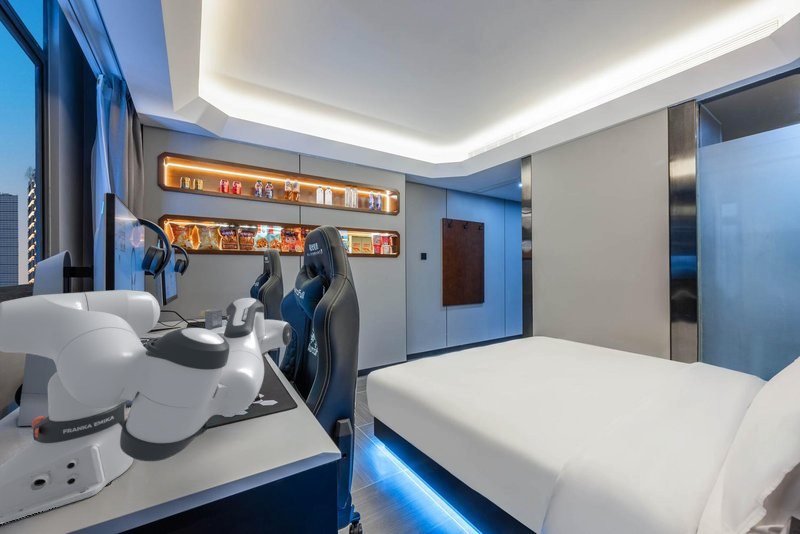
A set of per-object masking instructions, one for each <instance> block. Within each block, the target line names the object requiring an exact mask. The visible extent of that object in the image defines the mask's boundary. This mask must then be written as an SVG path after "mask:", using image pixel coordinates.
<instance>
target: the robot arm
mask: <svg viewBox="0 0 800 534" xmlns="http://www.w3.org/2000/svg"><path fill="white" fill-rule="evenodd" d="M225 312H226V317H227V322H226V325H224V326H223V325H222V327H219V328H215V329H211V330H207V329H205V328H202V327H189V326H188V327H182V328H178V329H175V330H172V331H169V332H167V333H166V334H164V335H162V336H159V337H154V338H152V339H150V340H149V341H148V342H147V343H145V346H144V344H143V343H142V341H141V338H143V337H144V336H145V335H147V334H148V333H149V332H150V331H151V330H152V329H154V328H155V326H156V325H157V323H158V321H159V320H160V314H161V307H160V304H159V301H158V300H157V299H156V297H155V296H154V295H153V294H151V293H150V292H149V291H143V290H130V289H115V290H114V289H113V290H100V291H82V292H67V293H51V294H50V293H49V294H37V295H31V296H25V297H20V298H15V299H10V300H5V301H2V302H0V352H2V353H13V354H15V353H16V354H28V355H35V356H40V357H43V358H47V359H50V360H53V363H54V364H55V368H56V372H55V373H53V375H52V376H51V377H50V379H49V380H48V383H47V406H48V410H47V411H48V415H47V416H45V415H39V416H36V417H34V419H32V420H31V421H32V423H31V427H32V429H33V430H32V435H33V436H32V437H33V440H32V441H31V442H29V443H28V444H27V445H25V446H24V447H23V448H22V449H21V450H19V451H18V452H17V453H15V454H14V455H12V456H11V457H10V458H9V459H7V460H6V461H5V462H4V463H3V464H1V465H0V523H1V522H7V521H11V520H15V519H18V518H21V517H23V516H27V515H30V514H34V513H37V514H39V513H38V512H40V513H43V512H46V511H49V509H50V510H52V508H53V509H56V508H58V507H62V506H66V505H68V504H72V503H74V502H78V501H81V500H85V499H88V498H90V497H92V496H95V495H97V494H98V493H99V492H100V491H101V490H103V489H104V488H105V486H106V485H108V484H109V483H110V482H112V481H113V480H115V479H117V478H119V477H120V476H121V475H123V473H125V472H126V471H127V470H128V469H129V468H130V467H131V466H132V465H133V463H134V460H136V461H140V462H151V463H152V462H159V461H165V460H167V459H169V458H171V457H174V456H176V455H177V454H179V453H180V452H182V451H183V450H184V449H185V448H187V447H188V446H189V445H190V443H192V442H193V441H194V439H196V438H198V437H199V436H201V435H203V434H204V433H205V432H206V431H207V430H208V426H207V422H208V420H209V419H210V418H211V417H213V416H216V415H220V416H234V415H237V414H239V413H241V412H243V411H245V410H246V409H248V408H249V407H250V406H251V405H252V404H253V403H254V401H255V400H256V398H257V396H258V394H259V393H260V390H261V388H262V385H263V382H264V377H265V364H264V358H263V357H264V356H266V355H267V354H268V353H269V352H270V351H271V350H272V349H279V348H285V347H287V346H289V344H290V343H291V341H292V337H293V335H292V334H293V333H292V331H293V330H292V327H291V324H290V323H289V322H287V321H284V320H280V319H279V320H278V319H277V320H276V319H265V315H264V314H265V305H264V304H263V303H262V301H260V300H259V299H257V298H253V297H242V298H239V299H235V300H233V301H232V302H231V303H230V304H228V306H227V307H226V309H225ZM133 399H134V400H133ZM127 400H130V401H133V403H132V405H131V407H130V408H129V412H128V415H127V413H126V409H127V408H125V403H124V402H125V401H127ZM126 415H127V417H126ZM55 507H56V508H55ZM42 511H43V512H42ZM34 515H35V514H34ZM27 517H28V516H27ZM21 519H22V518H21ZM18 520H19V519H18ZM15 521H16V520H15Z"/></svg>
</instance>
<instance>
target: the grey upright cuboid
mask: <svg viewBox="0 0 800 534" xmlns="http://www.w3.org/2000/svg"><path fill="white" fill-rule="evenodd" d="M199 316H201V317H204V323H205V324H204V327H205V328H204V329H207V330H211V329H215V328H219V327H222V326H223V310H222V309H205V310H200V311H199Z"/></svg>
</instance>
